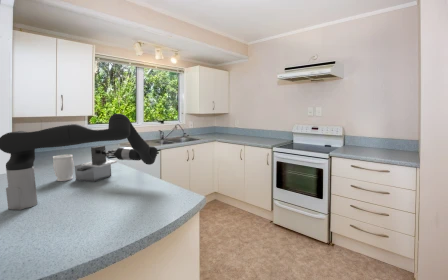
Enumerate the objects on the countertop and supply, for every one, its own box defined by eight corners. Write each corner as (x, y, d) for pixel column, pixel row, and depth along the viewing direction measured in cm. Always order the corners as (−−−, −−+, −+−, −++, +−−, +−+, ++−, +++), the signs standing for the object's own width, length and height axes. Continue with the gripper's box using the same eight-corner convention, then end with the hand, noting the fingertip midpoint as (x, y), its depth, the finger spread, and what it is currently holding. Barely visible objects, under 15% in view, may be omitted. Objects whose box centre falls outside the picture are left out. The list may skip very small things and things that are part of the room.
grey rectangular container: (90, 183, 139) (89, 168, 138) (71, 181, 143) (70, 166, 142) (114, 174, 158) (113, 161, 157) (97, 173, 162) (96, 160, 161)
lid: (99, 167, 139) (98, 148, 138) (80, 165, 143) (79, 147, 142) (116, 162, 152) (115, 145, 151) (99, 161, 156) (97, 144, 155)
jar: (64, 182, 141) (62, 157, 139) (50, 181, 143) (47, 157, 141) (78, 177, 151) (77, 154, 149) (65, 176, 153) (63, 153, 151)
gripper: (118, 162, 136) (94, 160, 141) (133, 157, 149) (110, 156, 154) (118, 149, 135) (93, 147, 140) (133, 146, 148) (110, 144, 153)
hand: (102, 152), depth 147 cm, fingers closed
